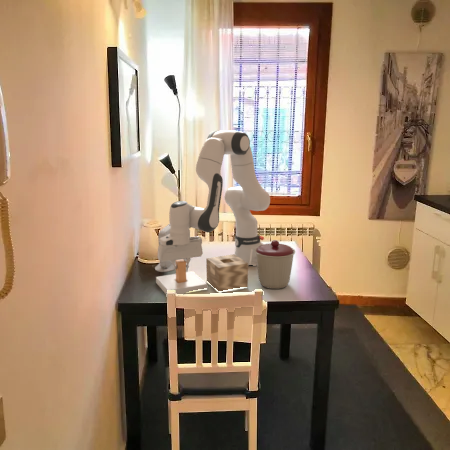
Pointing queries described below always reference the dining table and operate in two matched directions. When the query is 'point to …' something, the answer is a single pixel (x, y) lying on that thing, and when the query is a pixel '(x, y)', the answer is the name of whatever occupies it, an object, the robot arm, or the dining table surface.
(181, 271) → the peg
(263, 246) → the canister
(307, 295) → the dining table surface
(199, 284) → the socket plate
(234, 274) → the notched wooden cube
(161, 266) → the wireless router
